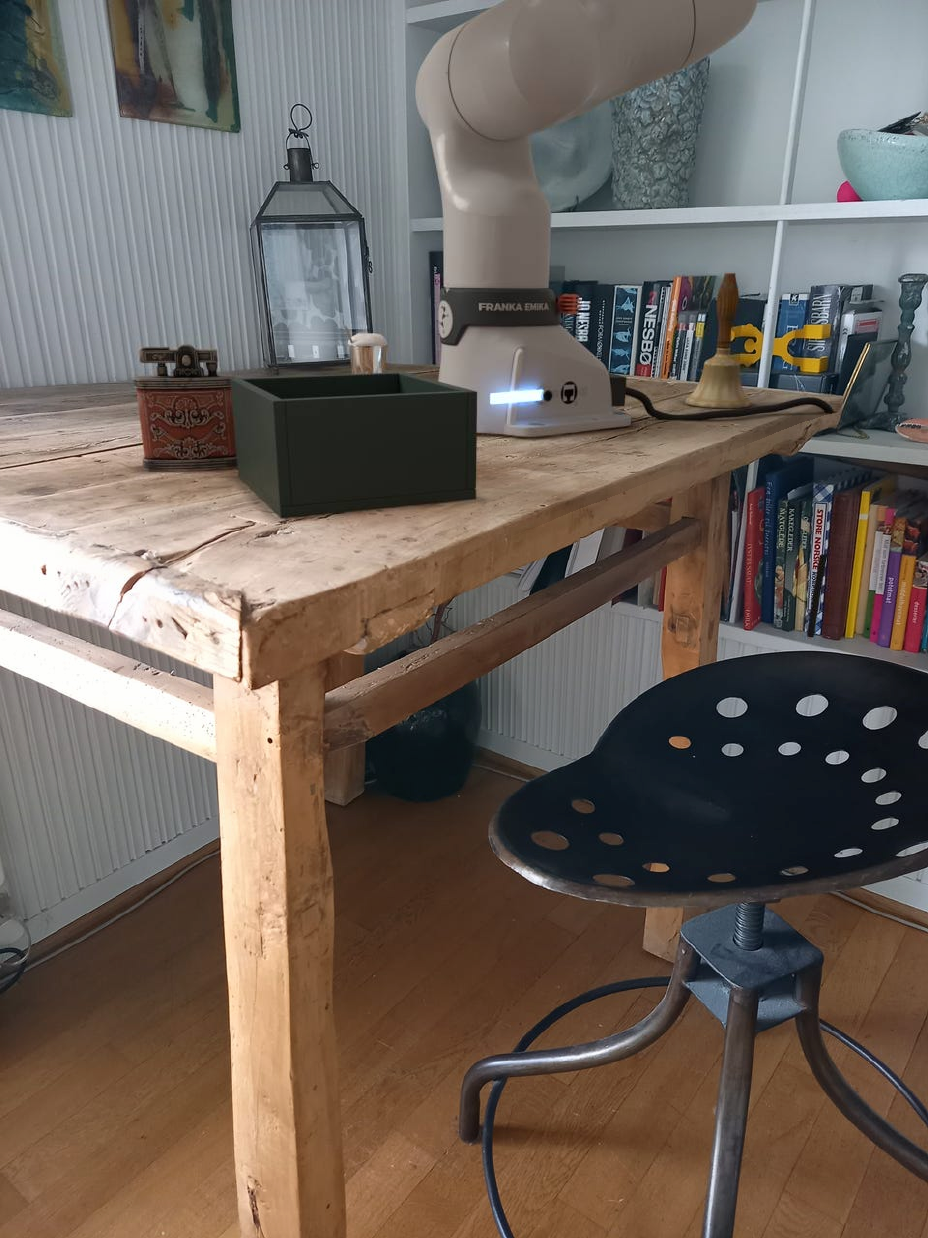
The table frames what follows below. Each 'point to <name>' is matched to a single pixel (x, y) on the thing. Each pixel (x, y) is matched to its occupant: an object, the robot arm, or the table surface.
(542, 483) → the table surface
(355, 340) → the milkshake
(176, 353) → the lighter
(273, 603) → the table surface
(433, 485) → the bin
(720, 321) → the hand bell
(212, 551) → the table surface
